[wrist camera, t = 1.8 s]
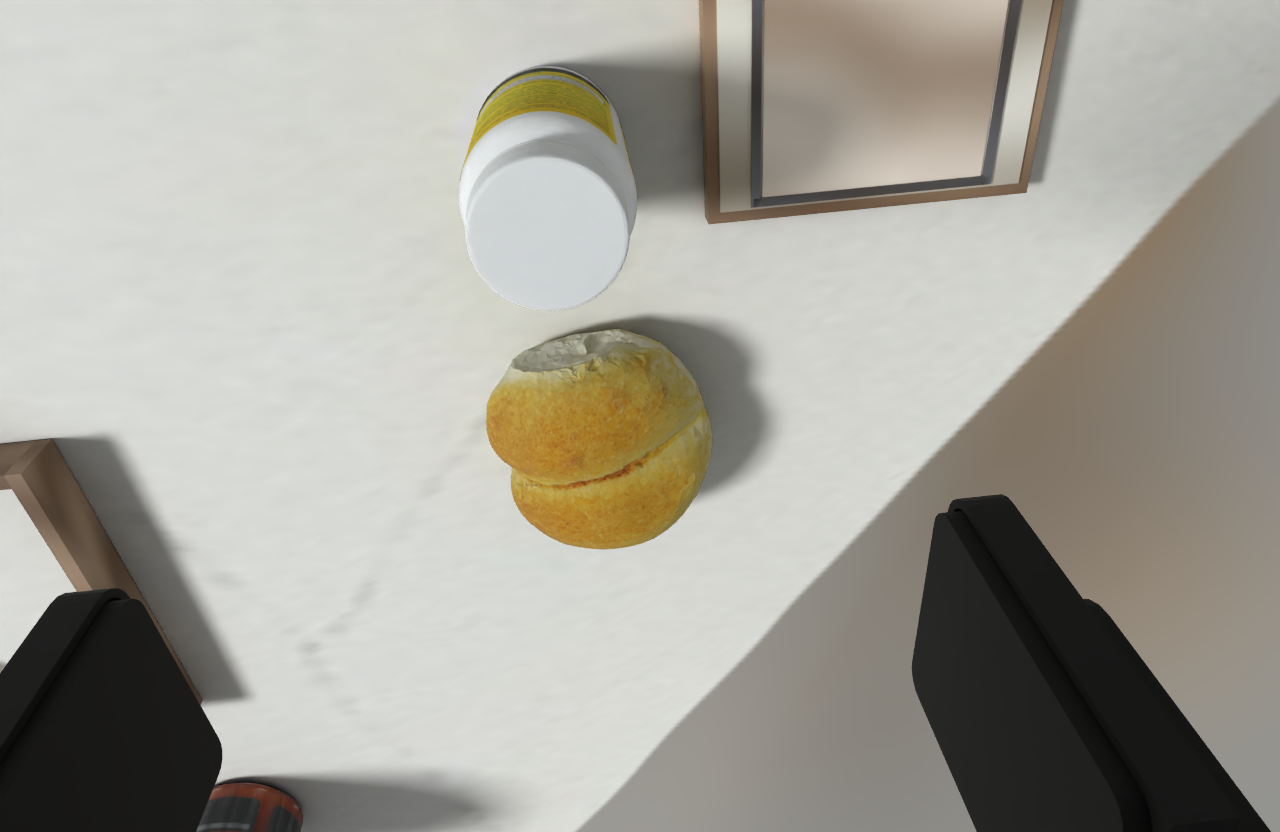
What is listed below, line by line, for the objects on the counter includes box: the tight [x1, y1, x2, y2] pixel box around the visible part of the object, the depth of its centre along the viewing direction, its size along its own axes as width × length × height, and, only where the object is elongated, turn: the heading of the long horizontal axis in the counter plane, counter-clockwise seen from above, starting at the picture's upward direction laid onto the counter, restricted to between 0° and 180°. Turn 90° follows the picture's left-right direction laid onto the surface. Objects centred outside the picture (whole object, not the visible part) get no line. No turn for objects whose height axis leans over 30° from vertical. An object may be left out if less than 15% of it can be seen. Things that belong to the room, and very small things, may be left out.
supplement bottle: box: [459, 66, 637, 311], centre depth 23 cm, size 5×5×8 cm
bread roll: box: [486, 329, 712, 549], centre depth 31 cm, size 8×9×4 cm
